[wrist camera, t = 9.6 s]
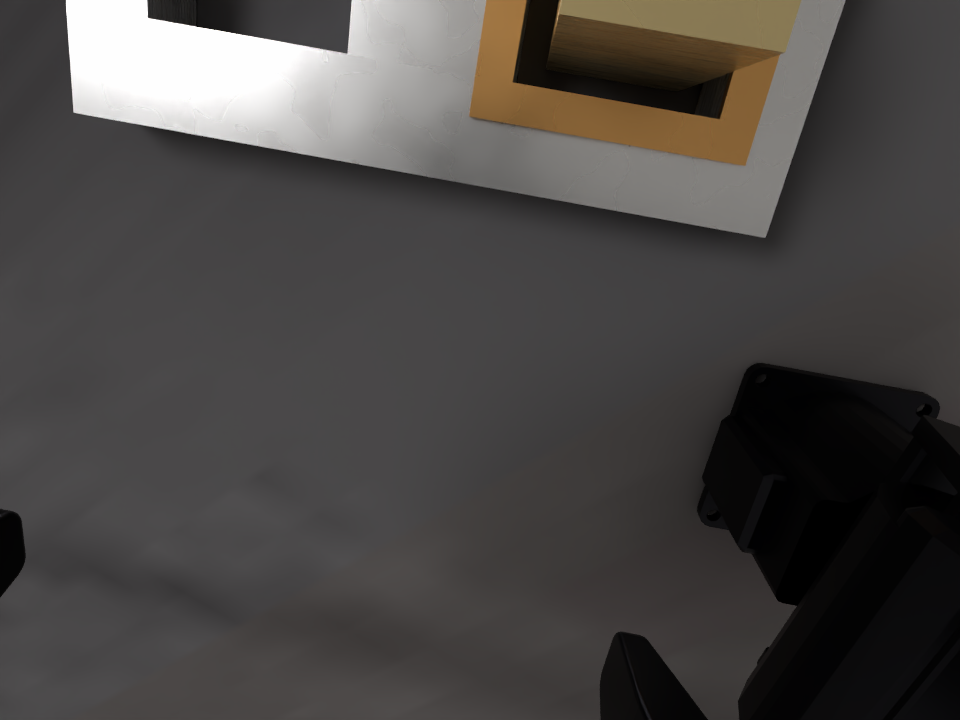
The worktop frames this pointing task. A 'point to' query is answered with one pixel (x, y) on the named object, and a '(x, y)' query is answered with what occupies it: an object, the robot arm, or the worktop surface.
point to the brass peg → (667, 38)
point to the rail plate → (457, 105)
